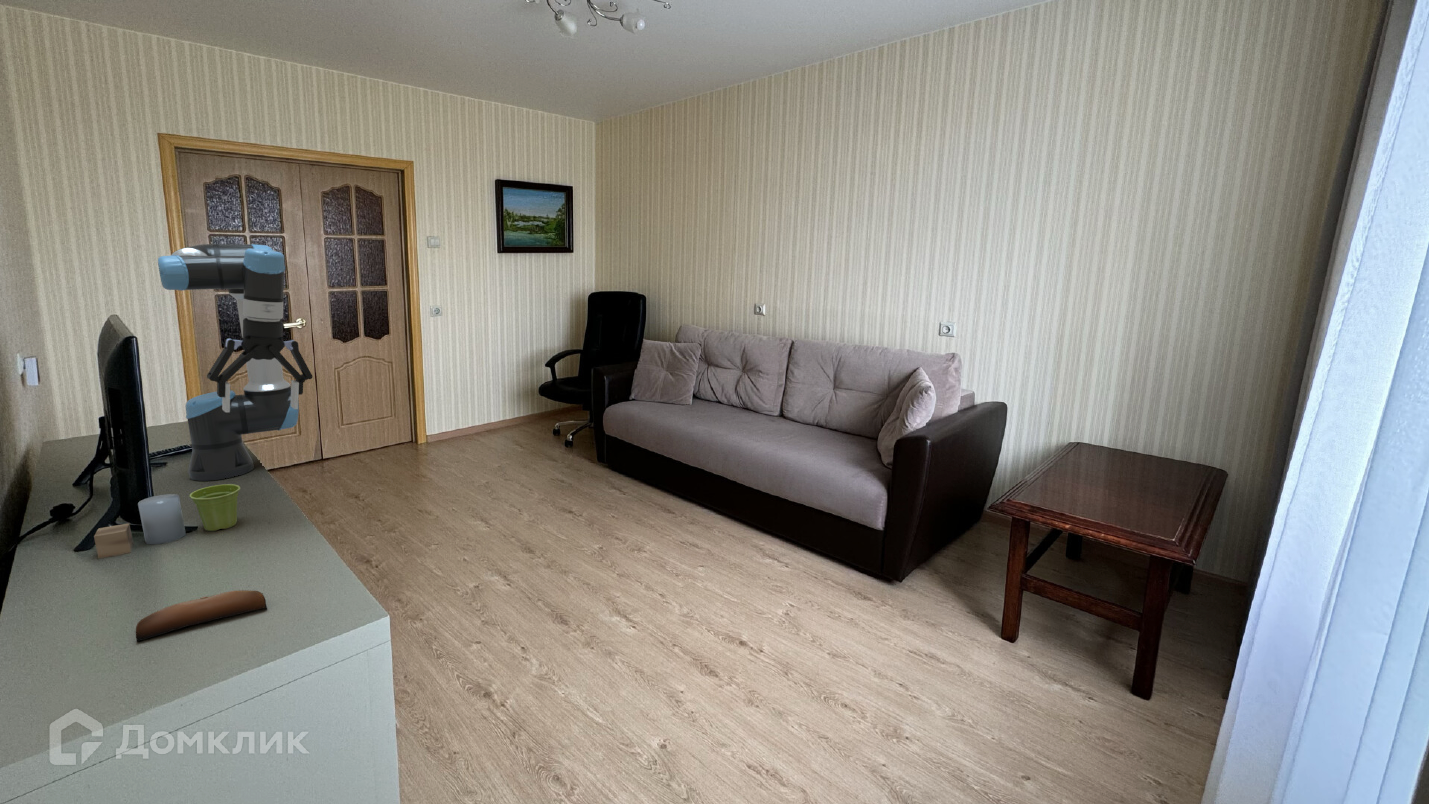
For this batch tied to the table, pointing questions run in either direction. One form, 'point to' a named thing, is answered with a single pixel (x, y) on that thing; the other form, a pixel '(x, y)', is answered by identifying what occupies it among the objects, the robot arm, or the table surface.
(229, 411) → the robot arm
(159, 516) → the slate jar
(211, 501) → the plant pot
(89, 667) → the table surface
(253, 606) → the sunglasses case
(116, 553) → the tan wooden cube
